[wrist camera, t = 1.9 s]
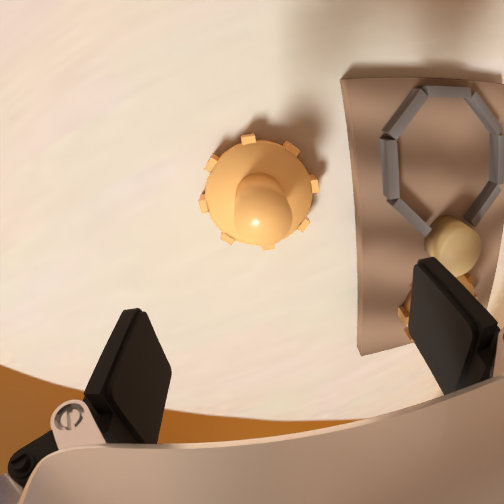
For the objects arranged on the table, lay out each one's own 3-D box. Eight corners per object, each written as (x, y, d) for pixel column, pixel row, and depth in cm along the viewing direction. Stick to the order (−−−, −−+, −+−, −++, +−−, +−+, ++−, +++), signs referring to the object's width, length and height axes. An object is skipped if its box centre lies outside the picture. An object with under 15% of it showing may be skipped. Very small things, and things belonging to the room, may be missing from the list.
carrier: (340, 80, 20) (384, 74, 13) (494, 83, 19) (556, 91, 12) (356, 346, 30) (379, 403, 23) (477, 311, 29) (511, 354, 23)
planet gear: (189, 146, 21) (172, 162, 16) (305, 124, 21) (327, 134, 16) (215, 249, 25) (208, 293, 20) (319, 231, 25) (340, 270, 19)
